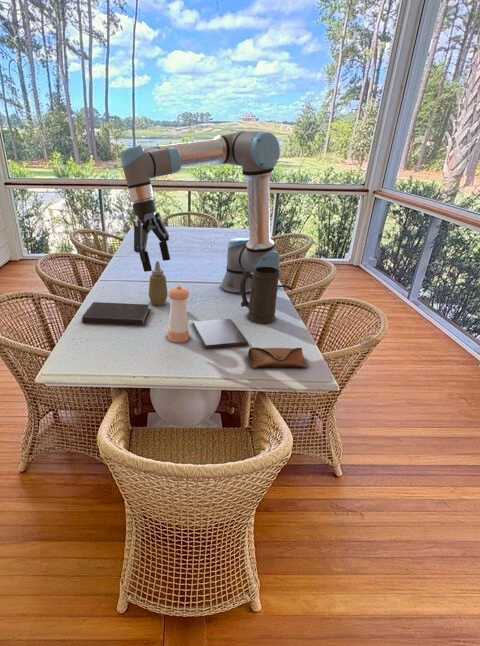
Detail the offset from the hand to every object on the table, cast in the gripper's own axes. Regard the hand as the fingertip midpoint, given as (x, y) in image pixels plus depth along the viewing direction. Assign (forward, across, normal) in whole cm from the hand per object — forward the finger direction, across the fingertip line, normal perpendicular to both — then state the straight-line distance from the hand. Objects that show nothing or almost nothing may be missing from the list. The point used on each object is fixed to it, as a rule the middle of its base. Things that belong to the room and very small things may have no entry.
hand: (157, 265), depth 138 cm
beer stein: (+30, -24, +25) cm, 45 cm away
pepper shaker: (+25, +7, +6) cm, 26 cm away
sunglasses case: (+33, +9, +41) cm, 53 cm away
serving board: (+27, -2, +18) cm, 33 cm away
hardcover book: (+18, +1, -23) cm, 29 cm away
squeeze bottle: (+20, -19, -16) cm, 32 cm away
